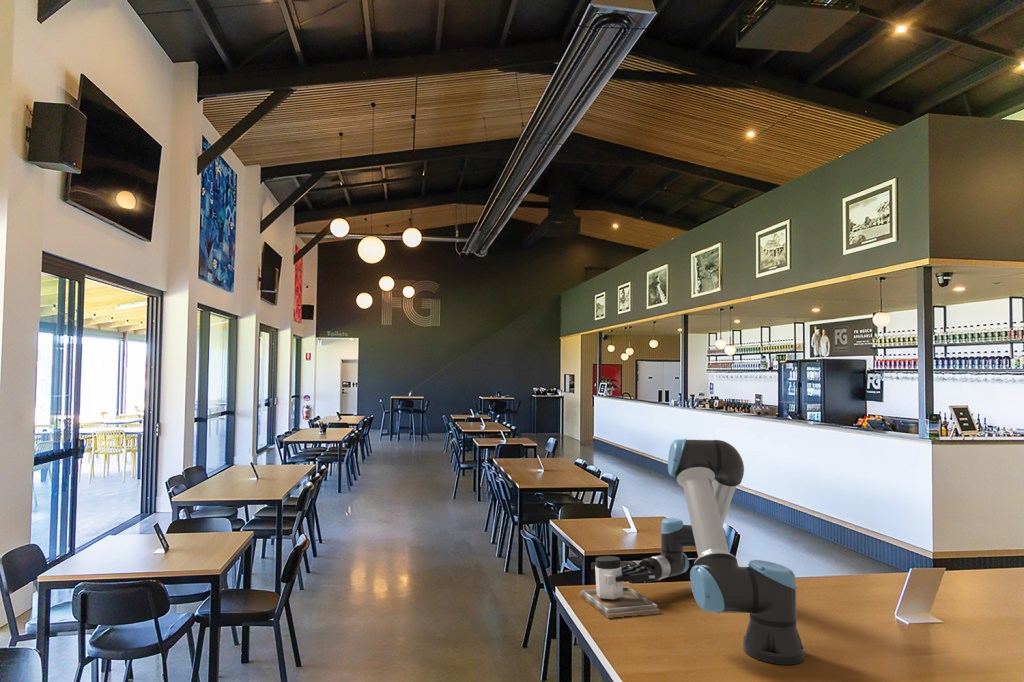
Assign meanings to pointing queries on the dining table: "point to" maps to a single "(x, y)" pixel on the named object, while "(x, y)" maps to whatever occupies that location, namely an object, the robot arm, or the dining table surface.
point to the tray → (621, 604)
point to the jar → (603, 568)
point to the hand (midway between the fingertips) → (606, 580)
